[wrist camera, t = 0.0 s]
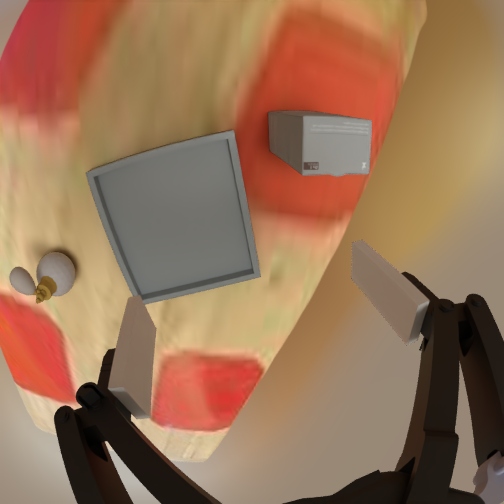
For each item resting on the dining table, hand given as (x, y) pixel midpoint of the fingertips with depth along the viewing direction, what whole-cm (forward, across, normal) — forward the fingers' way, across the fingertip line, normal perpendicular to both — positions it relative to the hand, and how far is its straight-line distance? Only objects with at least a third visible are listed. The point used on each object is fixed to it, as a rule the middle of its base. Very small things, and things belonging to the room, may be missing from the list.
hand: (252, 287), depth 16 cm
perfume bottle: (+28, -31, -6) cm, 43 cm away
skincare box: (+28, +13, +5) cm, 31 cm away
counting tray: (+28, -7, -5) cm, 29 cm away
